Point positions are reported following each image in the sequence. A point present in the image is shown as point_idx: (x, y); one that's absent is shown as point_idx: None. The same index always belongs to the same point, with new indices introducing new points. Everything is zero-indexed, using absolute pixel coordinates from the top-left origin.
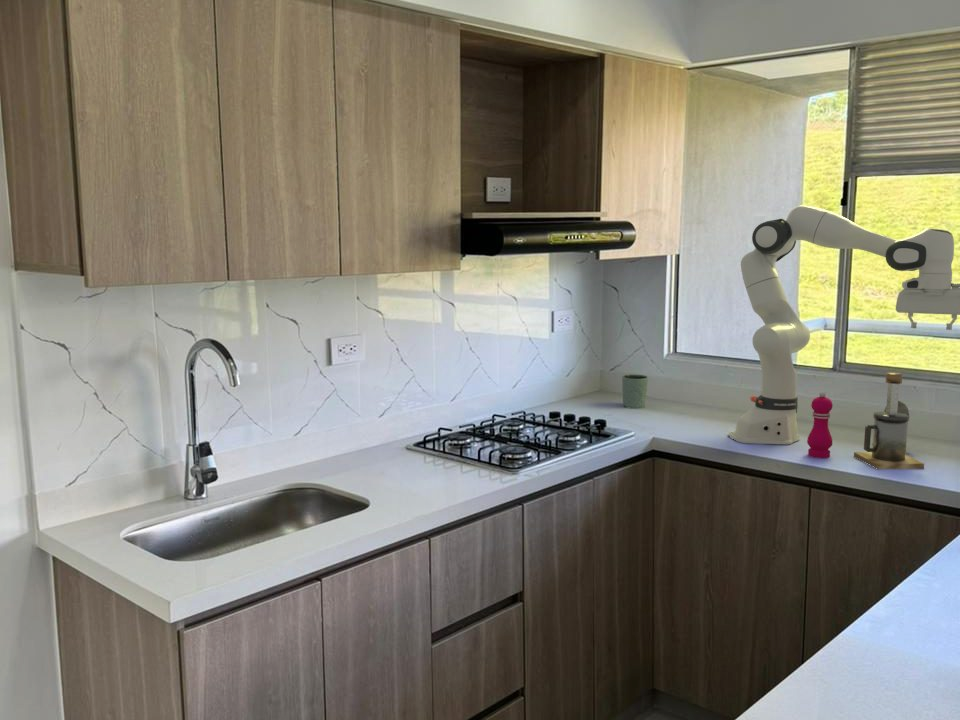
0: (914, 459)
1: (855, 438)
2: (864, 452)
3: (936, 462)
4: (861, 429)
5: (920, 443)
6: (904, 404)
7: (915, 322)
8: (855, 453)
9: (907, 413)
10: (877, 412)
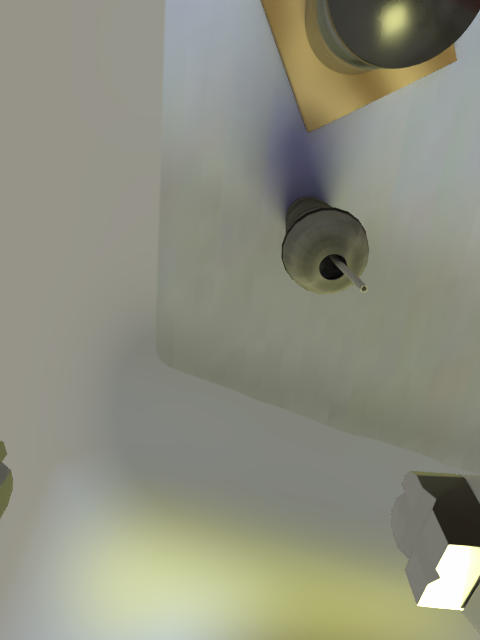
0: (274, 21)
1: (387, 313)
2: (422, 68)
3: (204, 89)
4: (352, 409)
5: (228, 314)
6: (305, 256)
7: (464, 558)
8: (453, 49)
9: (291, 232)
10: (463, 21)
